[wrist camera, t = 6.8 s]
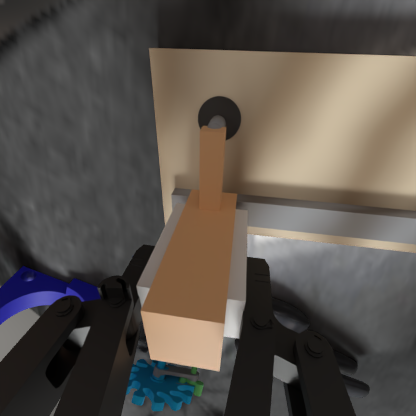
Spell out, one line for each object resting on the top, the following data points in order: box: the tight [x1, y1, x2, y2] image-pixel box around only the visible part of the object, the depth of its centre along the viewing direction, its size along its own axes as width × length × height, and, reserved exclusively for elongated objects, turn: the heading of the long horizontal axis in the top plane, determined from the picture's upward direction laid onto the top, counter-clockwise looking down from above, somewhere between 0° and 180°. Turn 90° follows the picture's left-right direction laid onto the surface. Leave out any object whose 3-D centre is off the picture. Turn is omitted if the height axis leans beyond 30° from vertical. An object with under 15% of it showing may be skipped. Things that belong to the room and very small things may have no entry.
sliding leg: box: [141, 115, 237, 371], centre depth 12 cm, size 3×8×10 cm, turn 179°
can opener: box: [235, 298, 370, 398], centre depth 26 cm, size 18×7×6 cm, turn 55°
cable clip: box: [0, 266, 100, 325], centre depth 27 cm, size 12×4×6 cm, turn 66°
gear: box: [126, 359, 204, 411], centre depth 32 cm, size 11×6×10 cm
